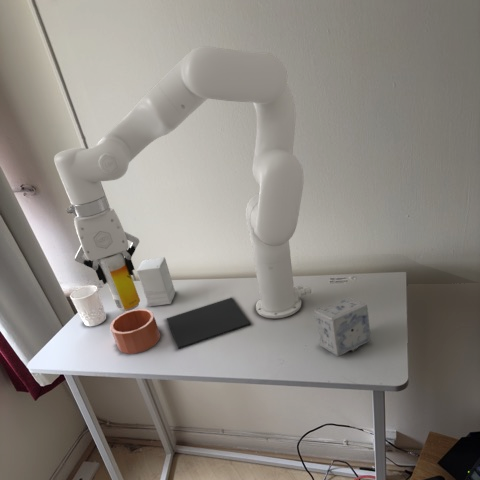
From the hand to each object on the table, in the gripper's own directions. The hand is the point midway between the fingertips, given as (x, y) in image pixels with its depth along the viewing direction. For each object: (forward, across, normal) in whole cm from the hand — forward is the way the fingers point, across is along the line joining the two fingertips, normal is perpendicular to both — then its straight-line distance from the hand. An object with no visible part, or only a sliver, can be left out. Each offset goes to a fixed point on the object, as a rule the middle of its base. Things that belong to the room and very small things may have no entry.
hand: (118, 276), depth 104 cm
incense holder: (+21, +44, -30) cm, 57 cm away
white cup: (+19, -12, +19) cm, 30 cm away
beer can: (+9, 0, 0) cm, 9 cm away
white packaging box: (+20, +9, +19) cm, 29 cm away
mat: (+20, +18, -2) cm, 27 cm away
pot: (+19, -1, 0) cm, 20 cm away
